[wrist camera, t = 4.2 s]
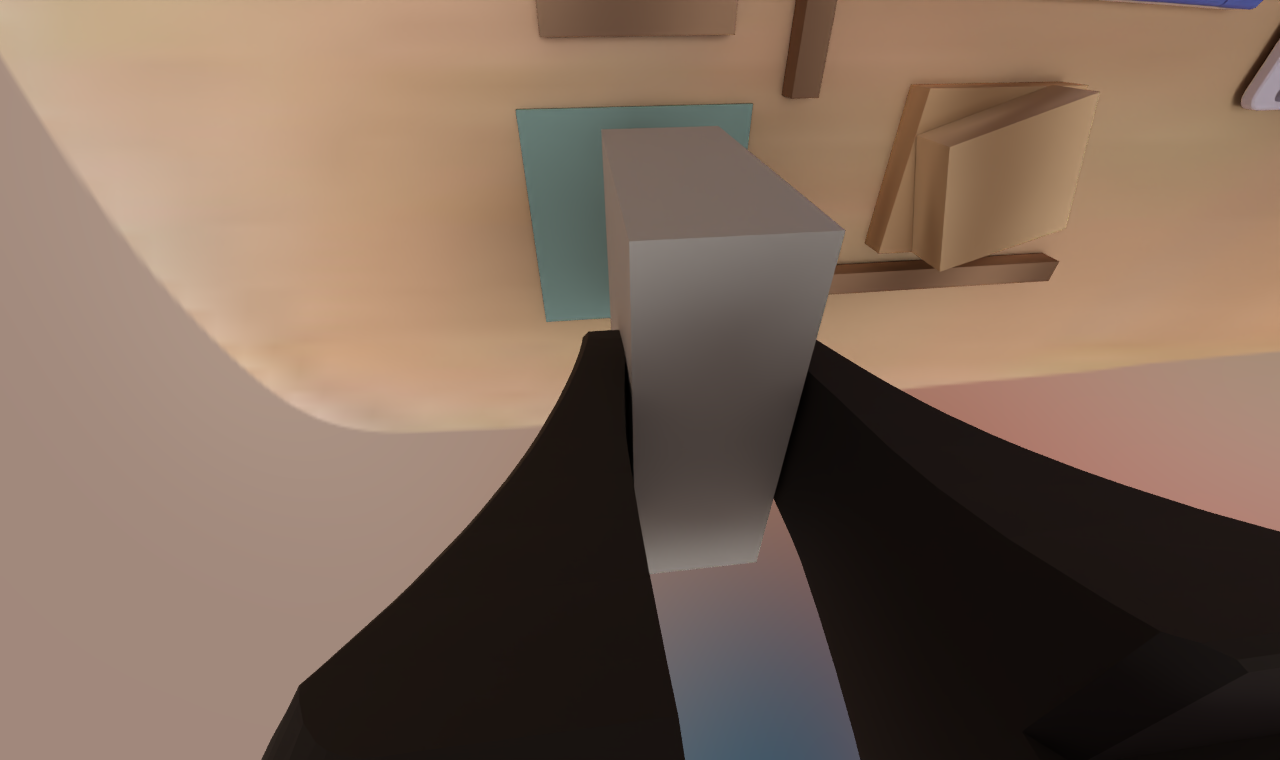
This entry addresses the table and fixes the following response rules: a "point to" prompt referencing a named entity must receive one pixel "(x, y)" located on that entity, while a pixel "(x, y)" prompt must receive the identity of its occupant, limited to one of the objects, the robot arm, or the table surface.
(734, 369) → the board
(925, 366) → the table surface
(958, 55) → the table surface
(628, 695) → the robot arm
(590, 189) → the mat
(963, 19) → the table surface
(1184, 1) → the hard drive
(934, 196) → the offcut top
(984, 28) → the table surface
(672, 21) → the rack
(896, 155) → the offcut bottom
